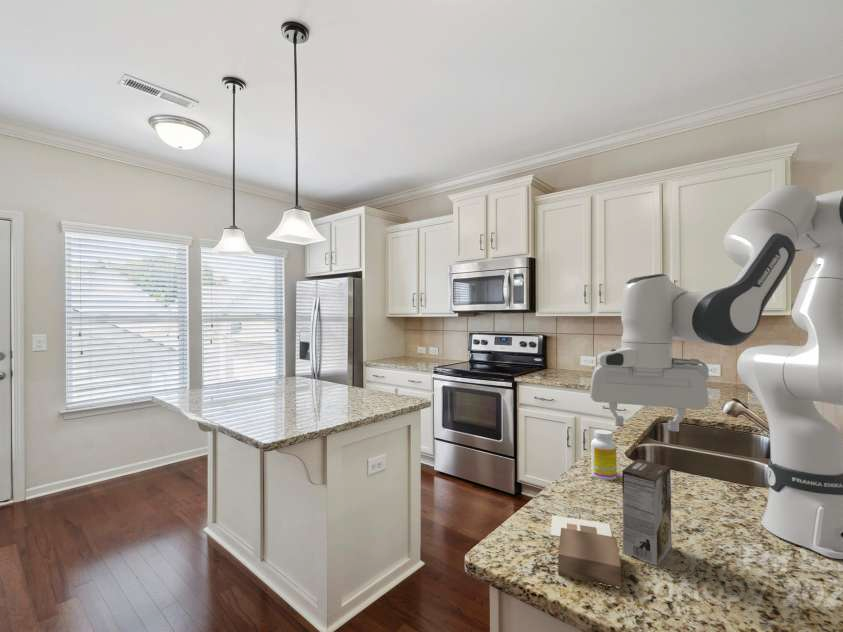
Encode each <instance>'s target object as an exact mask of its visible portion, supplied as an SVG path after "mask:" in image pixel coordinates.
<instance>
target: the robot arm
mask: <svg viewBox="0 0 843 632" xmlns="http://www.w3.org/2000/svg"><path fill="white" fill-rule="evenodd" d="M723 248H724V251H725V253H726V255H727V256H728V257H729V259H730V260H731V261H732V262H734V263H735V264H737V265H738V266H740V267H742V270H741V271H740V273H739V274H738V276H737V277H736V278H735V280H734V281H733V282H732V283H730V284H729V285H727V286H724V287H720V288H715V289H713V290H703V291H702V290H701V291H689V290H688V289H684V288H682V287H679V285H676V284H675V283H674V282H673V281H671V280H670V277H669V275H667V274H664V273H656V274H650V275H644V276H643V275H642V276H637V277H632V278H630V279H629V280H627V282H626V283H625V284H624V287H623V290H622V294H621V295H622V296H621V306H620V307H621V308H620V310H621V311H620V318H621V319H620V321H621V323H622V328H623V330H622V331H623V332H622V336H621V339H620V347H619V348H613V349H610V350H606V351H603V352H600V353H598V354H597V357H596V361H597V364H598V365H596V366H595V367H594V368H593V371H592V375H591V380H590V388H589V396H590V399H591V400H592V401H593V402H595V403H604V404H605V403H606V404H608V408H609V409H610V411H611V413H612V415H613V416H614V426H615V427H624V425H625V424H624V421H625V419H624V416H622V415H619V414H618V413H617V411H616V410H617V409H618V404H619V405H634V406H636V405H637V406H648V407H659V408H660V407H664V408H673V409H674V411H675V412H676V415H675V416H674V417H673V419H668V420H667V424H668V425H667V428H668V431H670V432H679V431H680V423H681V422H682V420H683V419H684V418H685V416H686V414H687V409H693V410H704V409H706V408H707V407H708V406H709V393H708V386H707V381H708V380H709V378H710V377H709V374H710V373H709V372H710V371H709V366H708V365H707V364H706V363H705V362H703V361H701V360H699V359H697V358H689V359H688V358H678V357H677V358H676V357H673V340H677V341H687V342H700V343H701V342H702V343H710V344H714V345H715V344H716V345H722V346H729V347H730V346H731V347H732V346H737V345H740V344H743V343H744V342H746V341H747V340H748V339H749V338H751V336H753V334H754V333H755V331H757V329H758V326H759V325H760V321H761V318H762V315H763V313H764V310H765V308H766V306H767V305H768V303H769V302H770V300H771V298H772V297H773V295H774V294H775V291H776V290H777V289H778V287H779V286H780V284H781V283H782V281H783V279H784V278H785V276H786V274H788V271H789V270H790V268H791V266H792V264H793V263H794V259H795V257H796V252H800V251H802V250H803V251H804V250H812V251H813V261H812V262H811V264H810V266H809V267H808V269H807V272H806V274H804V275H805V276H804V278H803V280H802V282H801V285H800V288H799V290H798V293H797V295H796V298H795V301H794V303H793V306H792V309H791V311H790V315H791V319H792V320H793V322H794V323H795V325H796V326H797V327H798V328H800V329H801V330H803V331H805V333H808V335H807V341H806V343H805V344H804V345H787V344H786V345H785V344H765V345H757V346H751V347H748V348H747V349H744V351H743V352H742V353H741V354H740V355H739V357H738V359H737V363H736V371H737V375H738V377H739V379H740V380H741V382H742V383H743V384H744V385H746V387H748V388H749V389H750V390H751V391H752V393H753V394H754V395H755V397H756V398H757V399H758V401H759V403H760V404H761V406H762V409H763V411H764V413H765V417H766V418H767V423H768V424H767V425H768V428H769V445H770V458H768V462H767V470H766V471H767V474H766V475H767V482H768V483H767V484H768V486H769V492H768V496H767V503H766V507H765V511H764V514H763V516H762V519H761V520H760V522H761V524H762V527H764V529H765V530H767V531H768V532H769V533H771V534H773V535H774V536H777V537H779V538H781V539H782V540H785V541H788V542H789V543H792V544H795V545H799V546H801V547H804V548H807V549H810V550H812V551H814V552H816V553H818V554H821V555H823V556H825V557H828V558H831V559H839V560H843V435H842V433H841V431H840V429H839V428H838V427H837V426H836V425H834V424H833V423H832V422H830V421H829V420H827V418H825V417H824V416H823V415H822V414H821V413H820V412H819V409H817V407H816V405H815V402H818V403H826V404H831V405H835V406H837V405H838V406H843V189H838V190H835V191H830V192H826V193H823V194H819V195H814V193H813V192H812V191H811V190H809V189H807V188H805V187H803V186H799V185H795V184H793V185H792V184H789V185H787V184H786V185H781V186H778V187H775V188H773V189H772V190H769V191H768V192H767V193H765V194H764V195H762V196H761V197H760V198H759V199H757V200H756V201H755V202H753V203H752V204H751V205H750V206H748V208H746V209H745V211H744V212H742V213H741V214H740V216H739V217H737V219H736V220H735V221H733V223H732V224H731V225H730V227H728V229H727V231H726V232H725V234H724V237H723Z"/></svg>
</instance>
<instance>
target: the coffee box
mask: <svg viewBox="0 0 843 632" xmlns="http://www.w3.org/2000/svg"><path fill="white" fill-rule="evenodd" d="M621 472H622V475H621V476H622V483H621V484H622V486H621V487H622V553H623V554H624V553H625V554H624V555H627V556H629V555H631V556H630V557H632V556H634V557H636V558H635V559H637V558H639V559H638V560H640V559H642V560H645V561H647V562H649V563H648V564H650V563H652V564H654V565H653V566H655V565H658V566H659V565H660V564H661V563H662V561H663V560H664V558H665V557H666V555H667V554H668V553H669V551H671V549H672V545H673V544H672V495H671V494H672V489H671V488H672V487H671V486H672V485H671V480H672V479H671V466H668V465H663V464H659V463H656V462H653V461H648V460H644V459H636V460H634V461H632V462H631V463H630V464H629V465H628V466H626V467H625V468H623V469H622V471H621ZM634 557H633V558H634ZM642 560H641V561H642ZM645 561H644V562H645ZM647 562H646V563H647ZM660 562H661V563H660ZM652 564H651V565H652Z"/></svg>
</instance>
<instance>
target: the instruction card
mask: <svg viewBox="0 0 843 632" xmlns="http://www.w3.org/2000/svg"><path fill="white" fill-rule="evenodd" d="M561 528H566V529H571V530H577V531H583V532H588V533H594V534H600V535H605V536H611V537H613V534H612V529H611V525H610V523H605V522H600V521H595V520H594V521H592V520H586V519H579V518H572V517H567V516H560V515H551V525H550V537H551V536H552V537H557V538H560V534H561Z"/></svg>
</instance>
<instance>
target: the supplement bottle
mask: <svg viewBox="0 0 843 632" xmlns="http://www.w3.org/2000/svg"><path fill="white" fill-rule="evenodd" d="M612 438H613V432H612V431H610V430H607V429H596V430H594V438H593V439H592V440H591V442H590V472H591V476H592V477H594V478H596V479H600V480H605V481H612V480H616V479H617V474H618V473H617V444H616V442H615V441H613V440H612Z"/></svg>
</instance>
